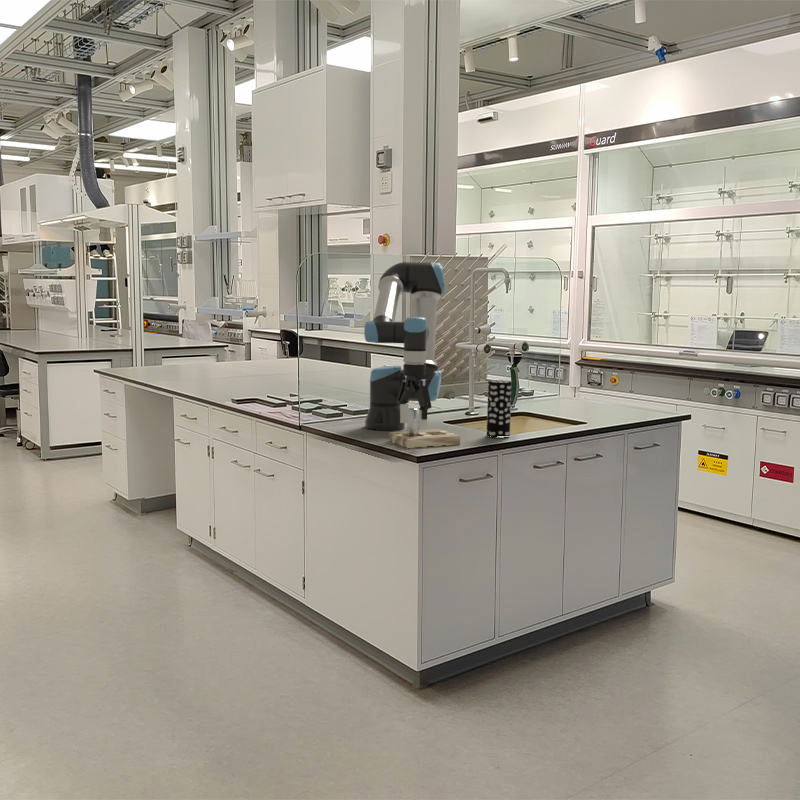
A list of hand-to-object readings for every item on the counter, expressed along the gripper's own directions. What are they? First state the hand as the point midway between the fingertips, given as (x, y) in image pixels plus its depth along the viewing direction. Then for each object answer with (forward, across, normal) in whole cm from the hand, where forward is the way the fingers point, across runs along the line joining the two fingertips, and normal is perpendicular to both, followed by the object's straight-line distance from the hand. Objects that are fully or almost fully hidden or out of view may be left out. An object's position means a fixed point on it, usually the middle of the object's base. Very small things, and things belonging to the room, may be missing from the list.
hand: (413, 425), depth 269 cm
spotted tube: (+6, +1, -36) cm, 36 cm away
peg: (+6, 0, 0) cm, 6 cm away
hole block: (+6, 0, -4) cm, 8 cm away
